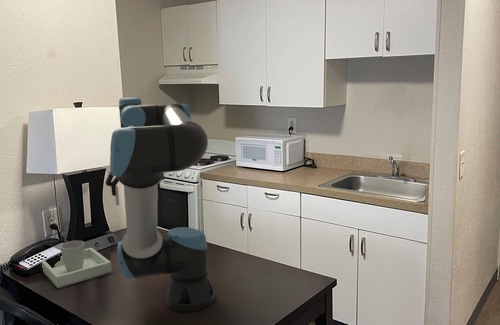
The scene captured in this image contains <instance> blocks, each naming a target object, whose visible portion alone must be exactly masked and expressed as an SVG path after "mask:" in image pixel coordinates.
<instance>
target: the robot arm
mask: <svg viewBox="0 0 500 325" xmlns="http://www.w3.org/2000/svg"><path fill="white" fill-rule="evenodd" d="M118 109H119V119H120V127H119V128H118V127H117V128H116V129H114V131H113V132H112V134H111V139H110V150H109V151H110V154H109V156H110V158H109V159H110V160H109V165H110V166H109V169H110V171H109V173H108V176H107V177H106V181H105V185H106V186H108V187H110V188H111V195H112V196H113V197H114V198H115V205H116V206H120V198H119V197H120V196H119V186H118V183H120V184H122V186H123V193H124V208H125V223H126V224H125V225H126V233H125V234H124V236H123V238H122V240H120V241H118V242H117V246H116V247H117V249H116V250H117V258H118V262H119V268H120V272H121V274H122V276H123V279H124V278H125V279H127V280H131V279H136V280H138V279H141V278H142V279H143V278H149V277H155V276H162V275H169V274H170V280H169V284H168V287H167V288H168V289H167V291H166V297H165V300H166V306H167V307H168V308H169V309H172V310H173V311H177V312H181V313H182V312H184V313H190V312H191V313H192V312H197V311H201V310H204V309H206V308H208V307H210V306H211V305H212V304H213V303H214V301H215V290H214V288H213V285H212V282H211V281H210V278H209V275H208V245H207V237H206V234H205V233H204V232H203V231H201V230H200V229H197V228H193V227H186V226H182V227H180V226H178V227H174V228H171V229H169V230H168V232H167V235H162V234H161V233H160V232H159V230H158V201H159V195H158V193H159V191H160V190H161V181H163V180H166V179H165V178H166V177H165V175H164V173H172V172H180V171H185V170H187V169H190V168H191V167H193V166H195V165H196V164H197V163H198V162H199V161H200V160H201V159H203V157H204V156H205V154H206V151H207V149H208V146H209V145H208V144H209V140H208V135H207V133H206V131H205V130H204V128H203V127H202V126H201V125H200V124H198V123H197V122H193V121H192V120H191V117H192V116H191V109H190V105H189V104H187V103H179V102H178V103H164V104H162V103H161V104H142V99H141V98H140V97H121V98H120V99H119V100H118Z"/></svg>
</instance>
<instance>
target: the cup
mask: <svg viewBox="0 0 500 325" xmlns="http://www.w3.org/2000/svg"><path fill="white" fill-rule="evenodd" d="M59 247H60V252H61V255H62V258H63V262H64V265H65V267H66V269H67V271H68V273H69V272H73V271H76V270H80V269H82V267H83V263H84V249H85V242H84V241H83V240H71V241H66V242H64V243H62V244H61V245H60V246H59Z"/></svg>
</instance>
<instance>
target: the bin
mask: <svg viewBox="0 0 500 325" xmlns="http://www.w3.org/2000/svg"><path fill="white" fill-rule="evenodd" d="M60 258H61V259H60V261H58V262H57V263H56V264H55V265H54V266H55V267H53V268H52V267H51V266H50V265H49V264H48V263H47V262H46V261H45V259H43V260H44V261H41V260H40V263H41V262H42V268H43V272H44V273H43V272H42V273H43V274H44V275H45V276H46V277H47V278H48V279H49V281H50V282H52V284H53V285H54V286H55V287H56V288H57V289H60V288H64V287H68V286H70V285H73V284H78V283H81V282H83V281H87V280H91V279H94V278H97V277H101V276H105V275H107V274H110V273H111V274H112V273H113V271H112V262H111V261H110V260H109V259H108V258H106V257H105V256H104V255H102V254H101V253H100V252H98V251H97V250H96V249H94V248H93V247H88V248H84V263H83V267H82V269H80V270H76V271H73V272H69V273H68V271H67V269H66V267H65V265H64V262H63V258H62V256H61V257H60Z"/></svg>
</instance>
